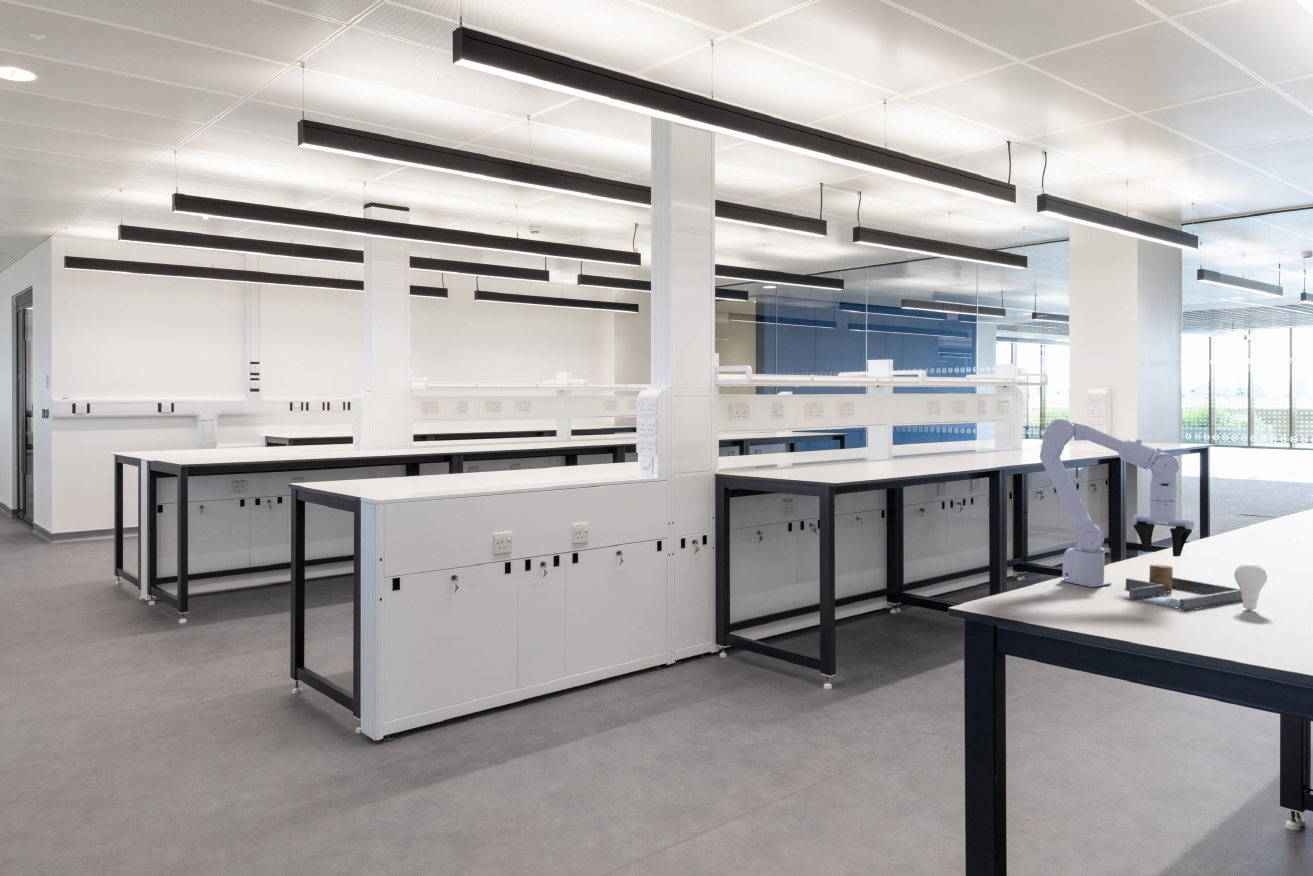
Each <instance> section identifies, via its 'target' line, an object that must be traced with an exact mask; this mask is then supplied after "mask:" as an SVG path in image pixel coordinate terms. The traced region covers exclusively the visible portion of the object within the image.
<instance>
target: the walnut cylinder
mask: <svg viewBox="0 0 1313 876" xmlns="http://www.w3.org/2000/svg"><path fill="white" fill-rule="evenodd" d="M1173 568H1174V567H1173V566H1170V565H1166V564H1165V565H1163V564H1150V565H1149V581H1148V582H1151V583H1156V584H1162V585H1165V591H1171V590H1172V591H1173V587H1172V577H1173V571H1174V569H1173ZM1172 591H1171V592H1172Z"/></svg>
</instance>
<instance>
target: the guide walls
mask: <svg viewBox="0 0 1313 876" xmlns="http://www.w3.org/2000/svg"><path fill="white" fill-rule="evenodd" d="M1173 587H1176V588H1175V589H1178V588H1181V589H1180V590H1183V589H1187V590H1186V591H1188V590H1191V591H1190V592H1194V591H1197V592H1196V593H1199V592H1203V593H1202V594H1203V595H1197V596H1192V597H1185V598H1179V600H1180V607H1179V610H1180V609H1181V610H1180V611H1182V610H1186V611H1190V610H1189V609H1192V610H1196V608H1198V609H1202V607H1204V608H1208V607H1207V606H1209V607H1214V605H1215V606H1220V604H1221V605H1226V604H1230V603H1231V604H1232V603H1237V601H1238V602H1243V598H1242V595H1241V590H1240V588H1235V587H1230V586H1226V585H1219V584H1214V583H1213V584H1212V583H1208V582H1202V581H1198V580H1190V579H1185V578H1180V577H1173V576H1172V588H1173ZM1127 588H1128V589H1127ZM1125 589H1127V590H1129V593H1128V594H1129V597H1128V598H1129V600H1131V601H1137V599H1138V600H1144V599H1150V597H1151V598H1154V597H1153V596H1157V597H1159V596H1158V595H1163V596H1165V595H1166V592H1165V585H1162V584H1156V583H1151V582H1149V581H1144V580H1139V579H1134V578H1130V577H1129V578H1125ZM1204 593H1208V594H1204ZM1164 594H1165V595H1164ZM1143 598H1144V599H1143Z"/></svg>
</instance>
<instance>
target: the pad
mask: <svg viewBox="0 0 1313 876" xmlns="http://www.w3.org/2000/svg"><path fill="white" fill-rule="evenodd" d="M1144 601H1146V602H1145V603H1149V602H1150V604H1153V603H1156V604H1155V605H1158V604H1161V605H1160V606H1163V605H1166V606H1165V607H1168V606H1171V607H1170V608H1173V607H1179V608H1180V599H1176V598H1172V597H1167V596H1157V597H1151V598H1144V599H1141V602H1144Z"/></svg>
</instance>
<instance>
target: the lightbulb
mask: <svg viewBox="0 0 1313 876" xmlns="http://www.w3.org/2000/svg"><path fill="white" fill-rule="evenodd" d="M1234 580H1235V582H1236V583H1237V585H1238V587H1239V589H1240V590H1241V595H1242V598H1243V601H1242V607H1243V608H1244V609H1246V611H1248V612H1249V611H1254V610H1255V609H1257V605H1258V604H1257V603H1258V600H1259V597H1260V593H1261V590H1262V589H1263V587H1264V586H1265V584H1266V583H1267V580H1268V575H1267V572H1266V570H1265V568H1263V566H1261V565H1260V564H1258V563H1254V562H1244V563H1241V564H1239V565H1238V566H1237V567H1236V569H1235V570H1234Z"/></svg>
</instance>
